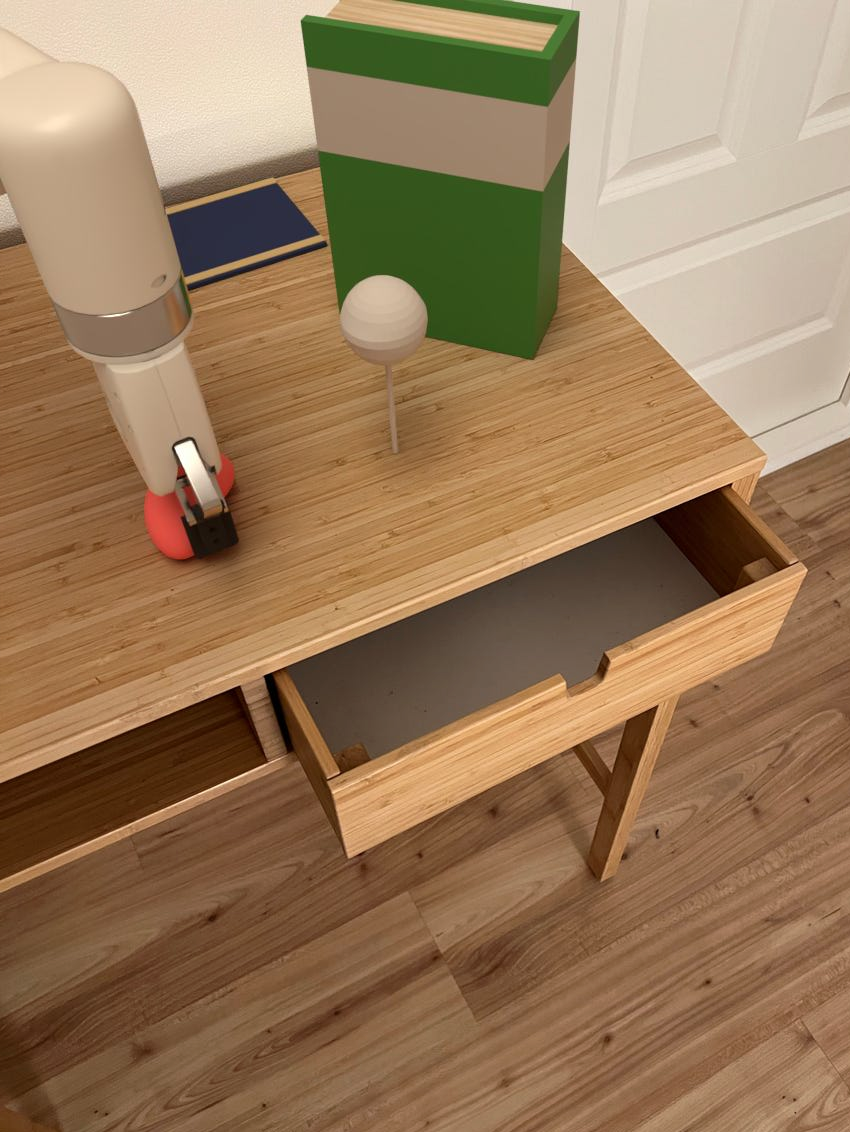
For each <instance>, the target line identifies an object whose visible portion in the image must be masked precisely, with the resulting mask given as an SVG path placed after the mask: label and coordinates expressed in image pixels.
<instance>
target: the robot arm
mask: <svg viewBox="0 0 850 1132" xmlns="http://www.w3.org/2000/svg"><path fill="white" fill-rule="evenodd" d="M137 107H138V106H137V105H136V102H135V100H134V98H133V96H132V94H131V92H130V91H129V89H128V88H127V86H126V85H125V84H124V83H123V81H121V80H120V79H119V78H118V77H117V76H115V75H114V73H111V72H110V71H108V70H106V69H105V68H102V67H100V66H97V65H94V64H90V63H85V62H78V61H60V60H58V59H57V58H54V57H53V56H51V55H49V54H48V53H46V52H45V51H43V50H42V49H39V48H38V47H36V46H35V45H33V44H32V43H30V42H28V41H27V40H25V39H23V38H22V37H20V36H19V35H17V34H16V33H13V32H12V31H10V30H8V29H6V28H4V27H2V26H0V197H1V196H4V195H5V194H6V195H7V198H8V200H9V203H10V205H11V206H12V207H11V208H12V210H13V213H14V215H15V217H16V219H17V222H18V224H19V227H20V230H21V232H22V234H23V236H24V239H25V242H26V244H27V246H28V249H29V251H30V254H31V256H32V258H33V261H34V264H35V267H36V268H37V270H38V274H39V276H40V278H41V280H42V282H43V285H44V288H45V290H46V292H47V296H48V298H49V300H50V302H51V304H52V307H53V309H54V312H55V314H56V317H57V319H58V321H59V324H60V327H61V329H62V331H63V333H64V336H65V339H66V341H67V343H68V344H69V347H70V348H71V349H72V350H73V351H74V353H76V354H77V355H78V356H81V357H82V358H83V359H86V360H88V361H91V364H92V367H93V369H94V372H95V375H96V377H97V380H98V382H99V385H100V388H101V391H102V394H103V396H104V398H105V402H106V405H107V408H108V411H109V413H110V416H111V419H112V422H113V424H114V426H115V427H116V430H117V432H118V434H119V436H120V438H121V439H122V441H123V444H124V446H125V447H126V449H127V451H128V453H129V455H130V457H131V459H132V461H133V462H134V465H135V467H136V468H137V470H138V472H139V475H141V477H142V479H143V481H144V483H145V485H146V487H147V489H148V488H149V489H150V491H151V492H152V493H153V494H155V495H157V496H160V497H162V496H164V495H166V494H169V493H173V491H174V492H175V495H176V497H177V499H178V502H179V504H180V506H181V509H182V511H183V513H184V516H182V517H180V518H181V520H182V523H183V526H184V529H185V531H186V534H187V537H188V539H189V542H190V545H191V548H192V550H193V553H194V555H193V556H195V558H196V559H197V560H202V559H205V558H207V557H210V556H212V555H215V554H218V553H219V552H222V551H225V550H228V549H230V548H232V547H234V546H236V545H238V544H239V542H240V539H239V535H238V532H237V529H236V526H235V523H234V519H233V516H232V513H231V509H230V506H229V503H228V501H227V499H225V498H224V497H223V494H222V492H221V490H220V487H219V485H218V482H217V480H216V477H215V475H214V473H215V474H216V475H218V474H219V472H220V470H221V467H222V463H221V458H220V453H221V452H220V450H219V446H218V442H217V438H216V435H215V432H214V428H213V425H212V421H211V418H210V415H209V411H208V409H207V405H206V403H205V399H204V396H203V393H202V390H201V386H200V383H199V381H198V378H197V373H196V372H197V371H196V369H195V368H194V365H193V362H192V360H191V357H190V353H189V349H188V347H187V344H186V342H185V339H187V337H188V336H189V335H190V333H191V332H192V330H193V327H194V324H195V310H194V306H193V303H192V300H191V297H190V293H189V290H188V289H187V285H186V282H185V278H184V274H183V271H182V267H181V264H180V261H179V257H178V253H177V249H176V246H175V242H174V239H173V235H172V231H171V228H170V224H169V221H168V217H167V213H166V210H165V208H166V207H165V203H164V200H163V196H162V193H161V190H160V189H161V188H160V185H159V182H158V178H157V175H156V171H155V168H154V163H153V160H152V156H151V154H150V149H149V146H148V143H147V138H146V135H145V131H144V128H143V124H142V121H141V118H140V117H141V116H140V114H139V111H138V108H137ZM219 452H220V453H219ZM180 465H181V468H182V470H183V472H184V474H185V475H182V476H179V477H177V473H178V466H180ZM189 485H190V487H191V489H192V491H193V493H194V496H195V498H196V502H197V504H195V505H192V506H190V504H189V501H188V499H187V497H186V494H185V492H184V490H183V488H184V487H187V486H189Z"/></svg>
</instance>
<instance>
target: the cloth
mask: <svg viewBox="0 0 850 1132" xmlns="http://www.w3.org/2000/svg"><path fill="white" fill-rule="evenodd" d="M165 210H166V213H167V217H168V221H169V224H170V228H171V231H172V235H173V239H174V242H175V246H176V249H177V253H178V257H179V261H180V264H181V267H182V271H183V274H184V278H185V282H186V285H187V289H188V291H192V290H195V289H198V288H200V287H204V286H208V285H211V284H214V283H217V282H219V281H223V280H225V279H228V278H232V277H235V276H238V275H242V274H244V273H248V272H251V271H254V270H257V269H260V268H263V267H265V266H266V267H267V266H269V265H273V264H276V263H278V262H282V261H286V260H288V259H291V258H295V257H298V256H301V255H305V254H308V253H310V252H313V251H316V250H320V249H323V248H325V247H328V242H327V240H326V238H325V237H324V236H323V235H322V234H320V232H319V231H318V230H317V228H316V227H315V226H314V225H313V224H312V223H311V222H310V220H309V219H308V218H307V216H306V215H304V213H303V212H302V211H301V209H299V207H298V206H297V205H296V203H294V202H293V200H292V199H291V198H290V196H289V195H288V194H287V193H286V191H285V190H283V188H282V187H281V186H280V184H279V183H278V181H277V180H276V179H275V177H273V176H270V177H267V178H264V179H263V178H262V179H260V180H257V181H253V182H250V183H246V184H244V185H239V186H235V187H233V188H230V189H225V190H222V191H219V192H216V193H212V194H209V195H205V196H202V197H198V198H195V199H192V200H188V201H184V202H182V203H178V204H175V205H171V206H168V207H165Z"/></svg>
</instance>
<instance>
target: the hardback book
mask: <svg viewBox="0 0 850 1132" xmlns="http://www.w3.org/2000/svg"><path fill="white" fill-rule="evenodd" d="M580 15H581V11H580V10H574V9H568V8H561V7H556V6H555V7H554V6H548V5H540V4H535V3H534V4H533V3H527V2H521V1H513V0H339V1H338V2H337V3H336V5H334V7H333V8H332V9H331V10H330V11H329V12H328V13H327V14H326V15H325V16H316V15H311V14H305V15H304V16H303V17H302V18H301V19H300V27H301V35H302V43H303V49H304V58H305V65H306V72H307V79H308V88H309V96H310V102H311V103H310V104H311V109H312V117H313V125H314V134H315V141H316V148H317V155H318V163H319V170H320V171H319V172H320V178H321V184H322V185H321V186H322V192H323V200H324V207H325V215H326V222H327V223H326V224H327V229H328V230H327V231H328V238H329V245H330V246H329V247H330V253H331V259H332V260H331V261H332V267H333V275H334V276H333V277H334V282H335V290H336V299H337V306H338V312H339V314H340V313H341V309H342V306H343V303H344V301H345V299H346V297H347V295H348V293H349V292H350V291H351V290H352V289H353V288H354V286H355V285H356V284H358V283H359V282H361V281H363V280H365V279H367V278H369V277H372V276H377V275H388V276H393V277H396V278H399V279H401V280H403V281H405V282H406V283H408V284H409V285H410V286H411V287H413V288H414V290H415V291H416V292H417V293H418V295H419V296H420V297H421V299H422V300H423V302H424V304H425V306H426V310H427V316H428V322H427V329H426V334H425V337H426V338H431V339H436V340H440V341H444V342H449V343H454V344H457V345H463V346H468V347H473V348H477V349H481V350H487V351H490V352H495V353H500V354H506V355H510V356H514V357H518V358H522V359H523V358H524V359H528V360H529V359H530V360H533V361H534V359H535V357H536V355H537V353H538V351H539V349H540V346H541V344H542V342H543V340H544V337H545V335H546V333H547V331H548V329H549V326H550V325H551V322H552V320H553V318H554V315H555V313H556V311H557V310H558V299H559V288H560V275H561V263H562V262H561V261H562V248H563V236H564V225H565V224H564V222H565V211H566V198H567V184H568V171H569V158H570V144H571V133H572V120H573V107H574V94H575V81H576V67H577V55H578V42H579V27H580V17H581V16H580ZM425 337H424V338H425Z"/></svg>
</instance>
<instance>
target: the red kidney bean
mask: <svg viewBox="0 0 850 1132" xmlns="http://www.w3.org/2000/svg"><path fill="white" fill-rule="evenodd" d="M219 453H220V458H221V463H222V467H221V470H220V472H219V474H218V475H216V474H215V473H214V475H215V477H216V480H217V482H218V485H219V487H220V490H221V492H222V494H223V497H224V499H225V498H226V497H227V495H228V494H229V492H230V491H231V489H232V488H233V485H234V482H235V478H236V472H235V467H234V464H233V462H232V460H231V459H230V458H228V456H226V455H225V454H223V453H222V452H220V451H219ZM182 475H185V474H184V472H183V470H182V468H181V465H180V466H178V473H177V477H179V476H182ZM183 490H184V492H185V494H186V497H187V499H188V501H189V504H190V506H192V505H195V504H197V502H196V498H195V496H194V493H193V491H192V489H191V487H190V485H189V486H187V487H184V488H183ZM143 514H144V524H145V527H146V528H147V532H148V535H149V538H150V540H151V541H152V542H153V544H154V545H155V547H156V548H157V549H158V550H159V551H160V552H161V553H162V554H164V555H165V556H166V557H168V558H170V559H173V560H186V559H189V558H192V557H193V556H195V555H194V553H193V550H192V548H191V545H190V542H189V539H188V537H187V534H186V531H185V529H184V526H183V523H182V520H181V518H180V517H182V516H184V513H183V511H182V509H181V506H180V504H179V502H178V499H177V497H176V495H175V492H174V491H173V493H169V494H166V495H164V496H162V497H160V496H157V495H155V494H153V493H152V492H151V491H150V489H149V488H148V487H147V490H146V494H145V499H144V504H143Z"/></svg>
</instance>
